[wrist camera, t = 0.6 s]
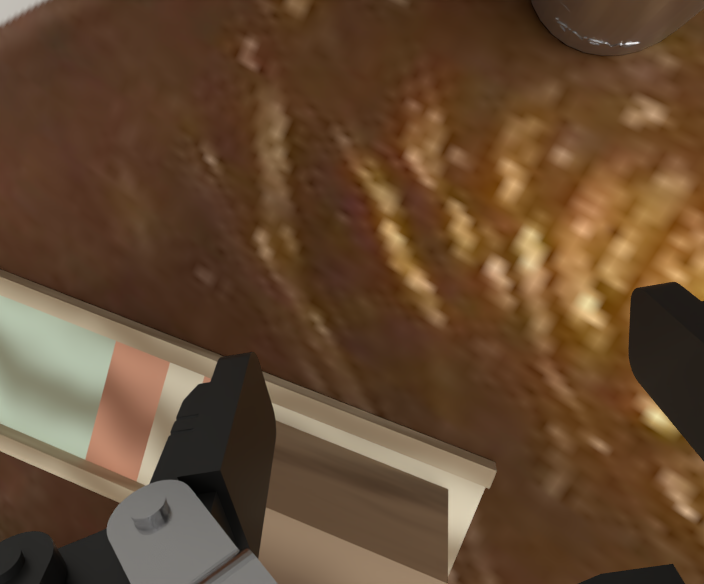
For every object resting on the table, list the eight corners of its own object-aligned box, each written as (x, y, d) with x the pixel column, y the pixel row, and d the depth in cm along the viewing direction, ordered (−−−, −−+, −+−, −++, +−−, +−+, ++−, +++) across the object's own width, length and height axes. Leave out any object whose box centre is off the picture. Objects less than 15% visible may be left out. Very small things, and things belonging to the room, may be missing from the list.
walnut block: (270, 418, 36) (212, 484, 27) (448, 489, 35) (447, 583, 26) (242, 504, 37) (178, 595, 28) (413, 576, 36) (400, 695, 27)
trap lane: (-76, 239, 39) (-119, 241, 36) (495, 462, 34) (499, 485, 31) (-104, 393, 41) (-147, 407, 38) (428, 622, 36) (426, 658, 33)
